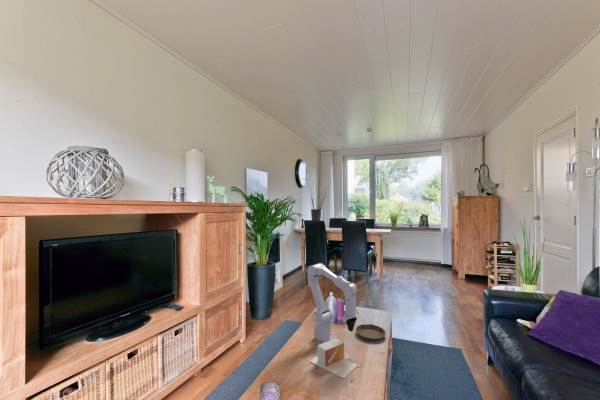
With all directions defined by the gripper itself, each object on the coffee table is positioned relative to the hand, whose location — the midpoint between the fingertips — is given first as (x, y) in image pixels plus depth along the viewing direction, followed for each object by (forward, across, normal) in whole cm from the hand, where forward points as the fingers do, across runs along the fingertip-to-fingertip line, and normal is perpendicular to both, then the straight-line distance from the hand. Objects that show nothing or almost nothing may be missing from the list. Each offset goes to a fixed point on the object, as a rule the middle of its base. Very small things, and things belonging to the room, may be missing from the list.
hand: (350, 330), depth 147 cm
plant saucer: (+11, +22, -1) cm, 25 cm away
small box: (+6, -9, +1) cm, 11 cm away
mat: (+10, -17, 0) cm, 20 cm away
